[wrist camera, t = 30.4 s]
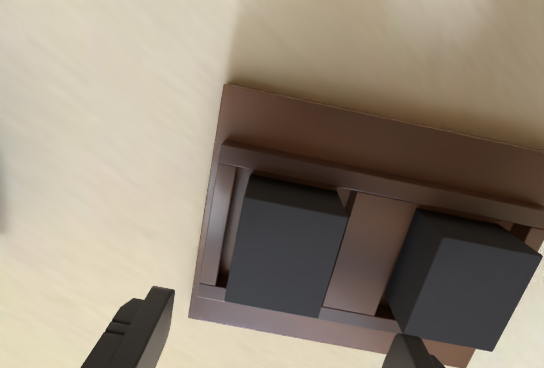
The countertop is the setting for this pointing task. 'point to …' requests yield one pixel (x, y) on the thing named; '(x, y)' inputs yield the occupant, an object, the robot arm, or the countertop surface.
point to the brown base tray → (355, 205)
